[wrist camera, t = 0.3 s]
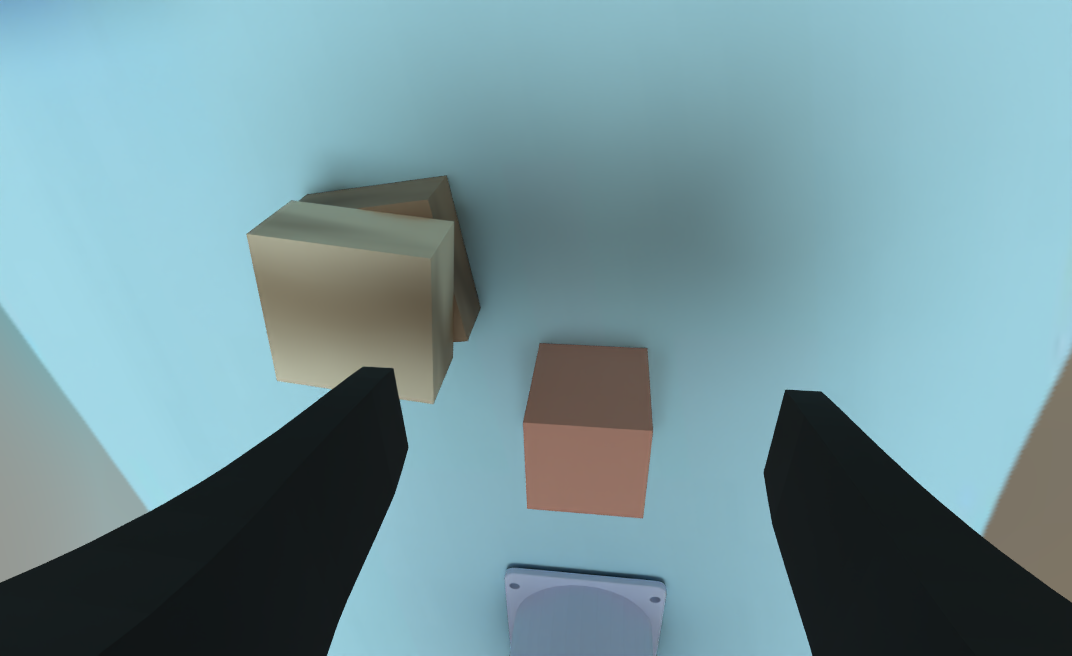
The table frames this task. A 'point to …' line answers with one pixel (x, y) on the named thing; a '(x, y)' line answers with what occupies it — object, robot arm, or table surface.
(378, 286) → the tower top
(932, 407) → the table surface
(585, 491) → the block
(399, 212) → the tower base
